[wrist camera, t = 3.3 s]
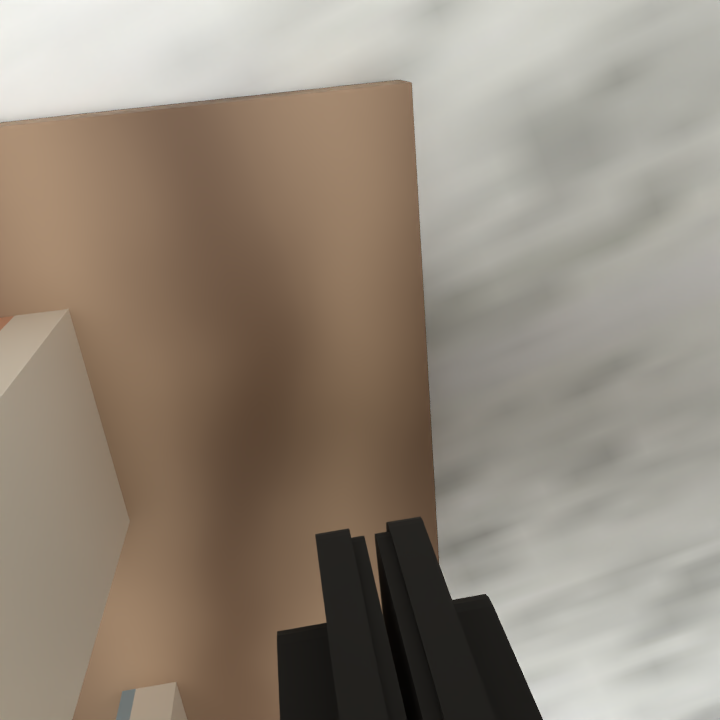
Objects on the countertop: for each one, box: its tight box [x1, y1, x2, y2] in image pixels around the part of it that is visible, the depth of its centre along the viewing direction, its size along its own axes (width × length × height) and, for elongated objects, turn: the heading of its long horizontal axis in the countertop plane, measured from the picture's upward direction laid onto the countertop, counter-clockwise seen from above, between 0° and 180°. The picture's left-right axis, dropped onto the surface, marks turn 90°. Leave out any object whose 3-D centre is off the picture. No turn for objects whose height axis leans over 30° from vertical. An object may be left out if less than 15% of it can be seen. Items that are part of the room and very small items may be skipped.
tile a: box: [0, 309, 130, 720], centre depth 13 cm, size 2×6×8 cm, turn 5°
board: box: [0, 80, 439, 720], centre depth 21 cm, size 24×30×2 cm
